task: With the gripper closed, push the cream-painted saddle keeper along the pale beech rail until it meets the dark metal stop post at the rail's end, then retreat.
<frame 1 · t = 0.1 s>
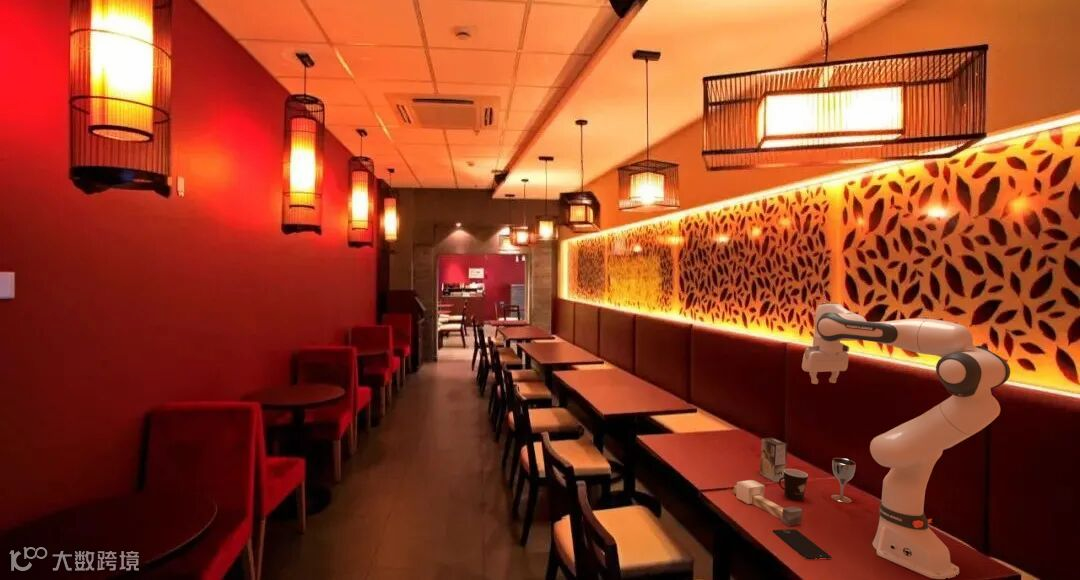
hand: (823, 383, 195), 48 cm above the table, fingers open, 8 cm apart
rail: (763, 507, 197), on the table
cell phone: (800, 546, 170), on the table
coffee mug: (790, 498, 207), on the table
keeper: (750, 491, 203), point 3 cm above the table, slide at 0.0 cm
wine glass: (841, 499, 209), on the table
coffee box: (772, 478, 228), on the table
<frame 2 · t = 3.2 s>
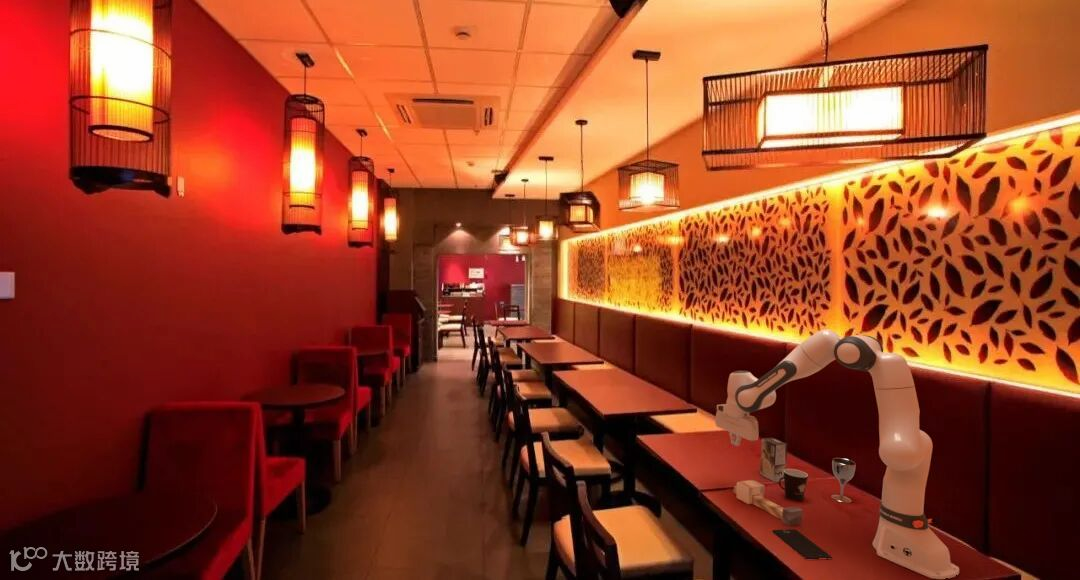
hand: (735, 444, 211), 19 cm above the table, fingers closed
nothing on the table moved.
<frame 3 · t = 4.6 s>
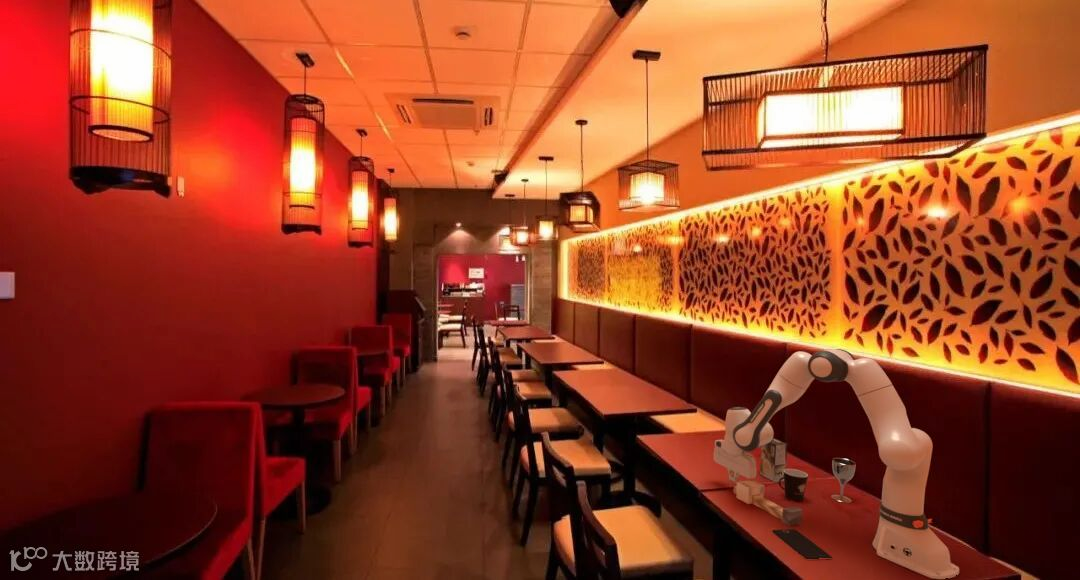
hand: (733, 481, 211), 4 cm above the table, fingers closed
nothing on the table moved.
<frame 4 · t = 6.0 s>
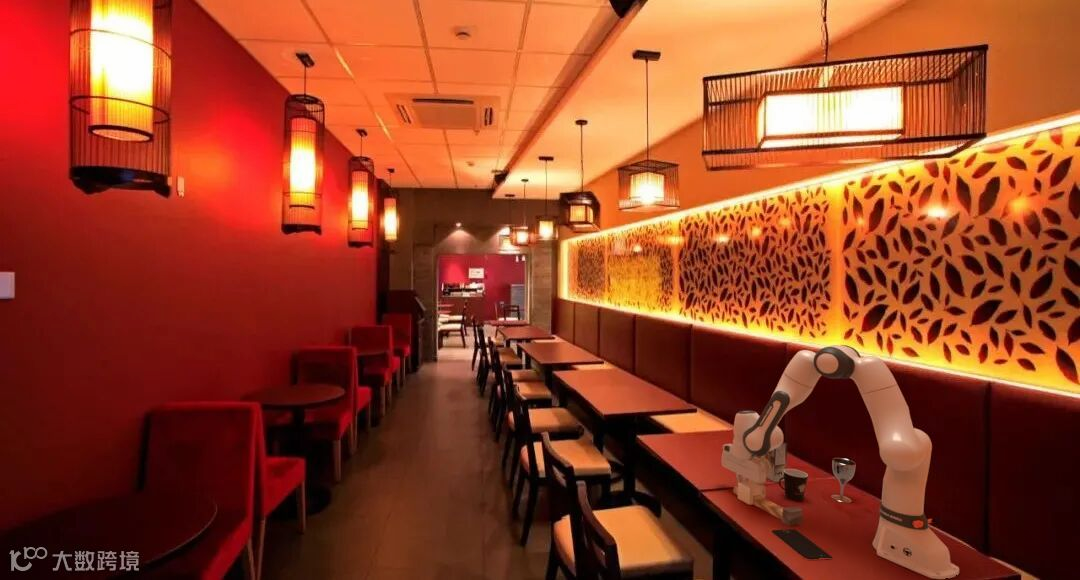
hand: (742, 486, 207), 4 cm above the table, fingers closed
keeper: (751, 492, 202), point 3 cm above the table, slide at 0.7 cm, touching gripper
everything else where it was.
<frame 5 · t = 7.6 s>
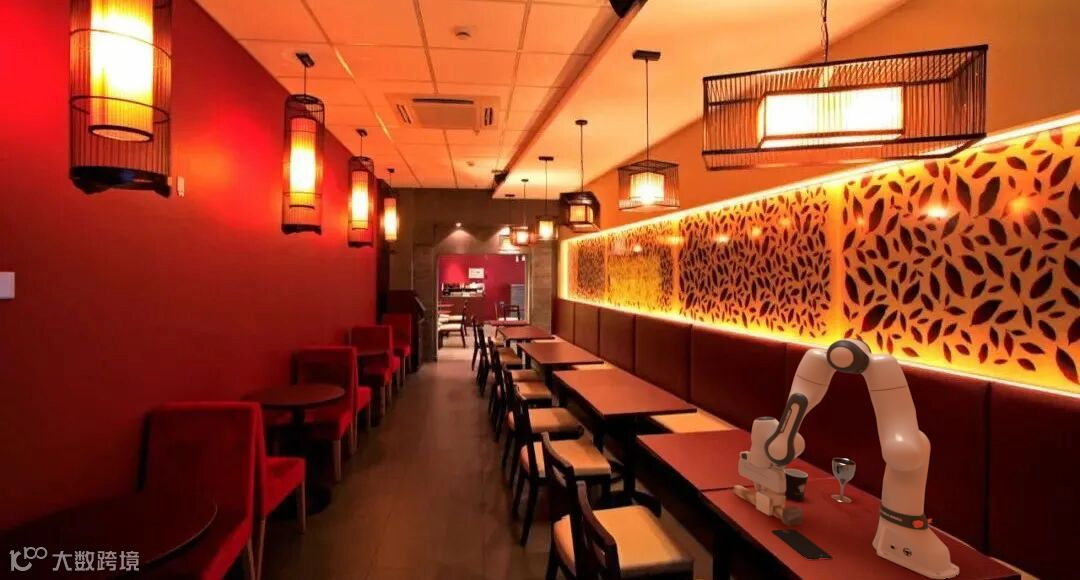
hand: (760, 495, 198), 4 cm above the table, fingers closed
keeper: (770, 502, 194), point 3 cm above the table, slide at 9.9 cm, touching gripper
everything else where it was.
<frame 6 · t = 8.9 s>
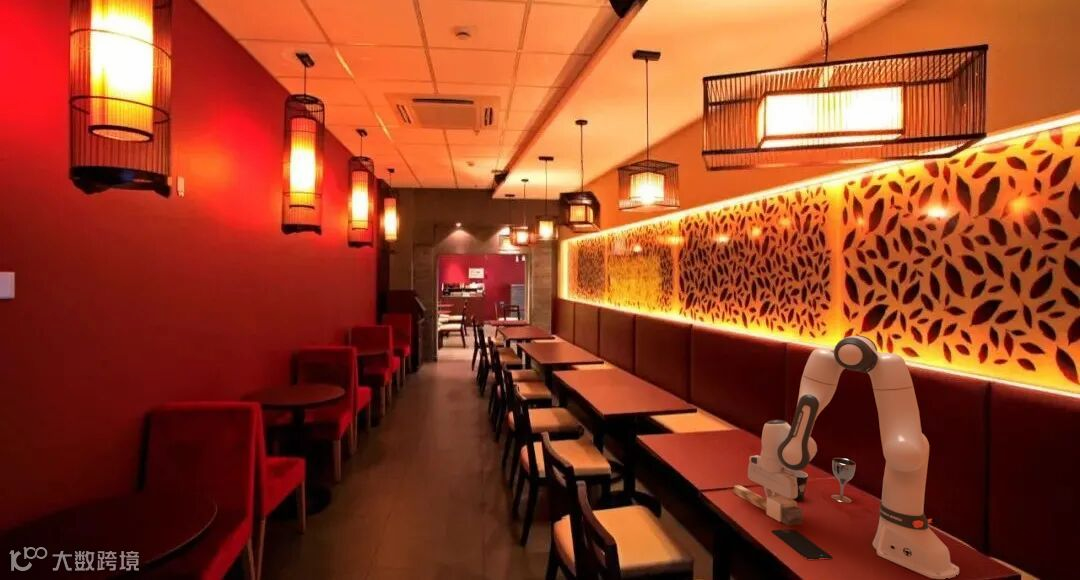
hand: (770, 500, 194), 4 cm above the table, fingers closed
keeper: (781, 508, 189), point 3 cm above the table, slide at 14.7 cm, touching gripper
everything else where it was.
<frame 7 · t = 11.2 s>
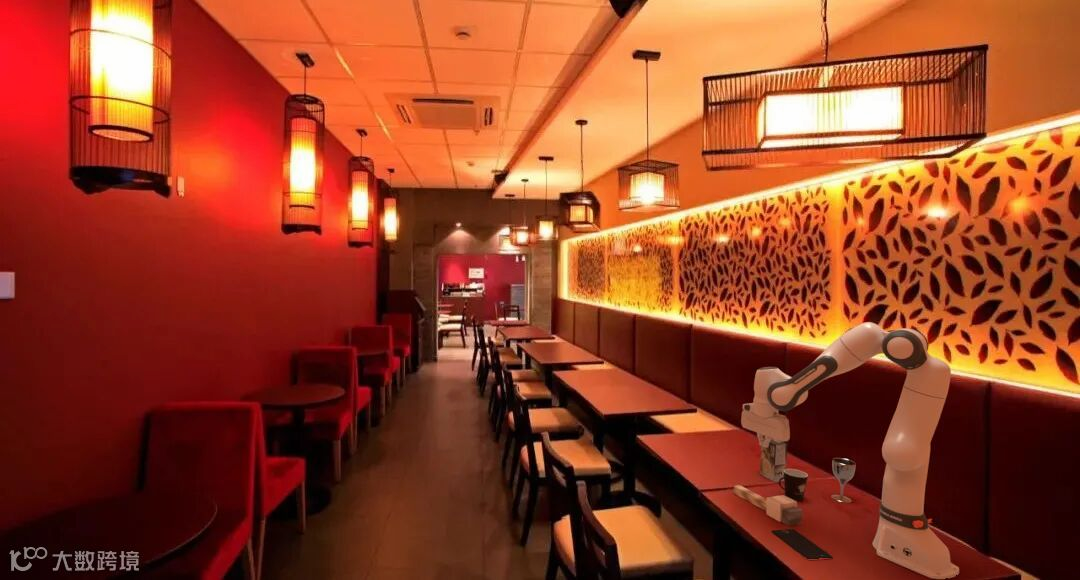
hand: (763, 446, 198), 23 cm above the table, fingers closed
keeper: (781, 508, 189), point 3 cm above the table, slide at 14.7 cm
everything else where it was.
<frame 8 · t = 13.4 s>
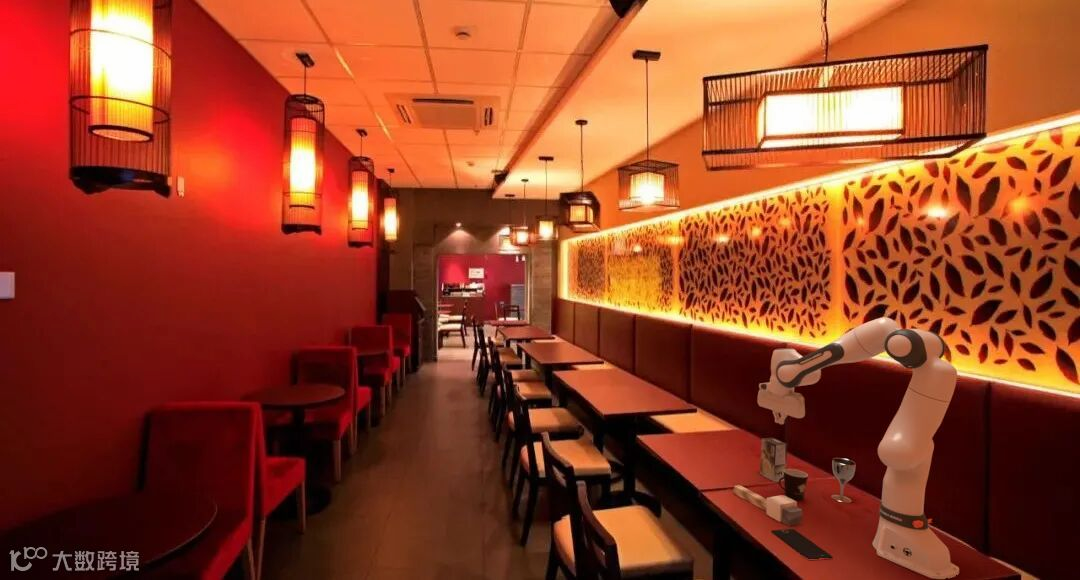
hand: (779, 423, 207), 29 cm above the table, fingers closed
nothing on the table moved.
at the end: keeper slide at 14.7 cm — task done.
